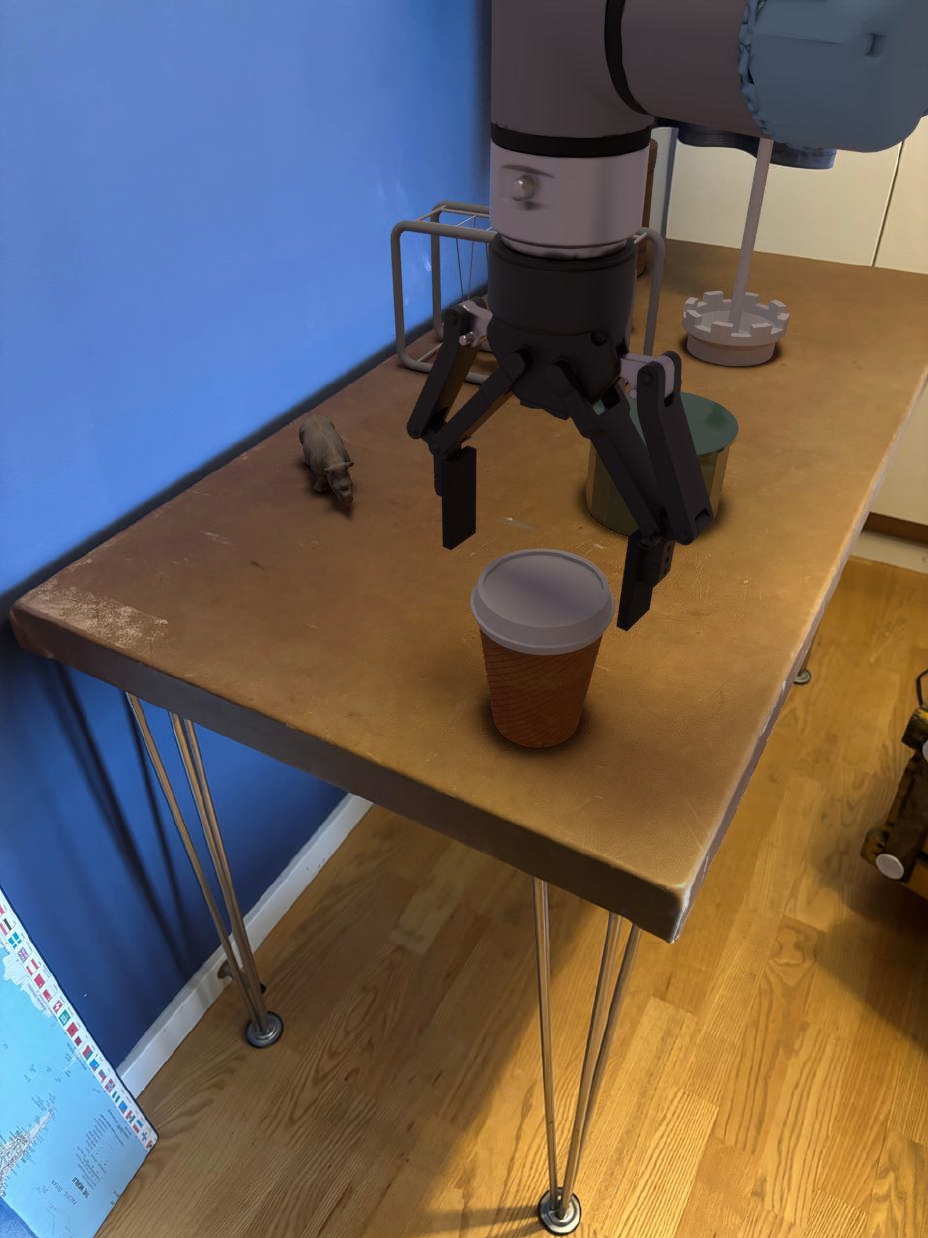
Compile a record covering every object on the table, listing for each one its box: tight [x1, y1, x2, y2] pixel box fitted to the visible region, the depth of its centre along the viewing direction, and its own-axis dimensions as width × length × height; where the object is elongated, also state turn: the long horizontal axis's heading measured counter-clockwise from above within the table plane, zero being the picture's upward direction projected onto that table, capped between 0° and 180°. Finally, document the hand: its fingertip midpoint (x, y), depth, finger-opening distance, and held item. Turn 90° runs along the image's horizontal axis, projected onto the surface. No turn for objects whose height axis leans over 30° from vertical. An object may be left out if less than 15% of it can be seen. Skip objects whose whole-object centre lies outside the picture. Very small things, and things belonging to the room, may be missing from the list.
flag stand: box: [681, 137, 791, 367], centre depth 109 cm, size 13×13×30 cm
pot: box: [585, 441, 731, 537], centre depth 87 cm, size 13×13×8 cm
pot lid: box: [593, 378, 740, 459], centre depth 83 cm, size 14×14×5 cm
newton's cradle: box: [389, 200, 666, 392], centre depth 108 cm, size 30×10×18 cm, turn 62°
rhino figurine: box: [298, 413, 355, 507], centre depth 90 cm, size 4×14×6 cm, turn 21°
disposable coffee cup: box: [469, 547, 616, 749], centre depth 63 cm, size 10×10×12 cm
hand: (541, 577), depth 59 cm, fingers open, 13 cm apart
